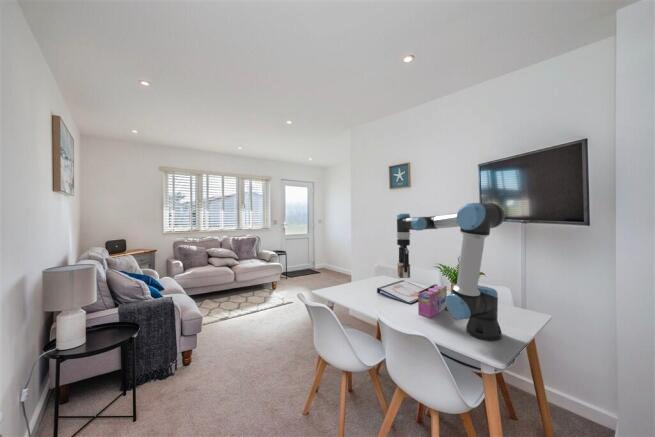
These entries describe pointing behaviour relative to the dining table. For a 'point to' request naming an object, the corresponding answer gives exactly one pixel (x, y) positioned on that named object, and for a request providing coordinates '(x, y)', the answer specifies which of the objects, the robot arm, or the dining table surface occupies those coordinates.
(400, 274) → the walnut block
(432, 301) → the gum box
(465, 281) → the robot arm
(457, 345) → the dining table surface
